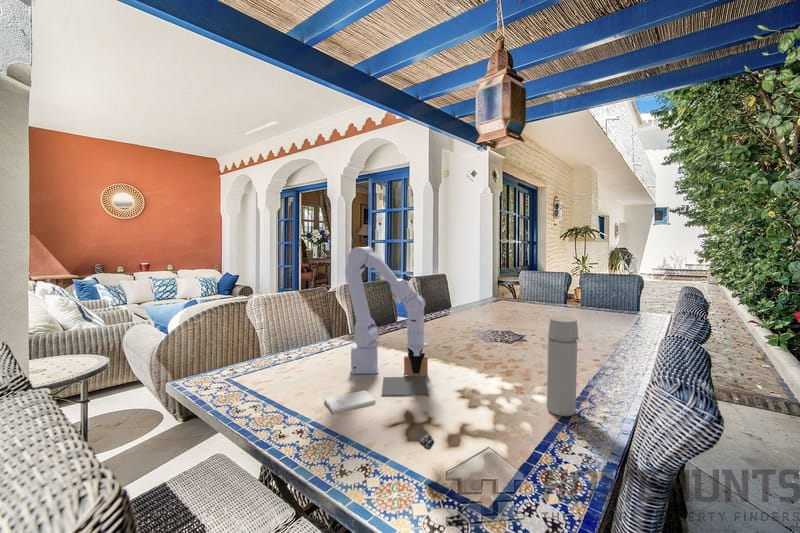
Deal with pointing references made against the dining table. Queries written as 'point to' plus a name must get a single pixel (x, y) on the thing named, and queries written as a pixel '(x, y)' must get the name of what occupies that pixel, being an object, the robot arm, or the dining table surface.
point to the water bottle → (562, 366)
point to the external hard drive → (349, 401)
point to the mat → (404, 386)
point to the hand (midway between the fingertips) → (415, 370)
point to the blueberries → (426, 441)
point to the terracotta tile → (409, 367)
